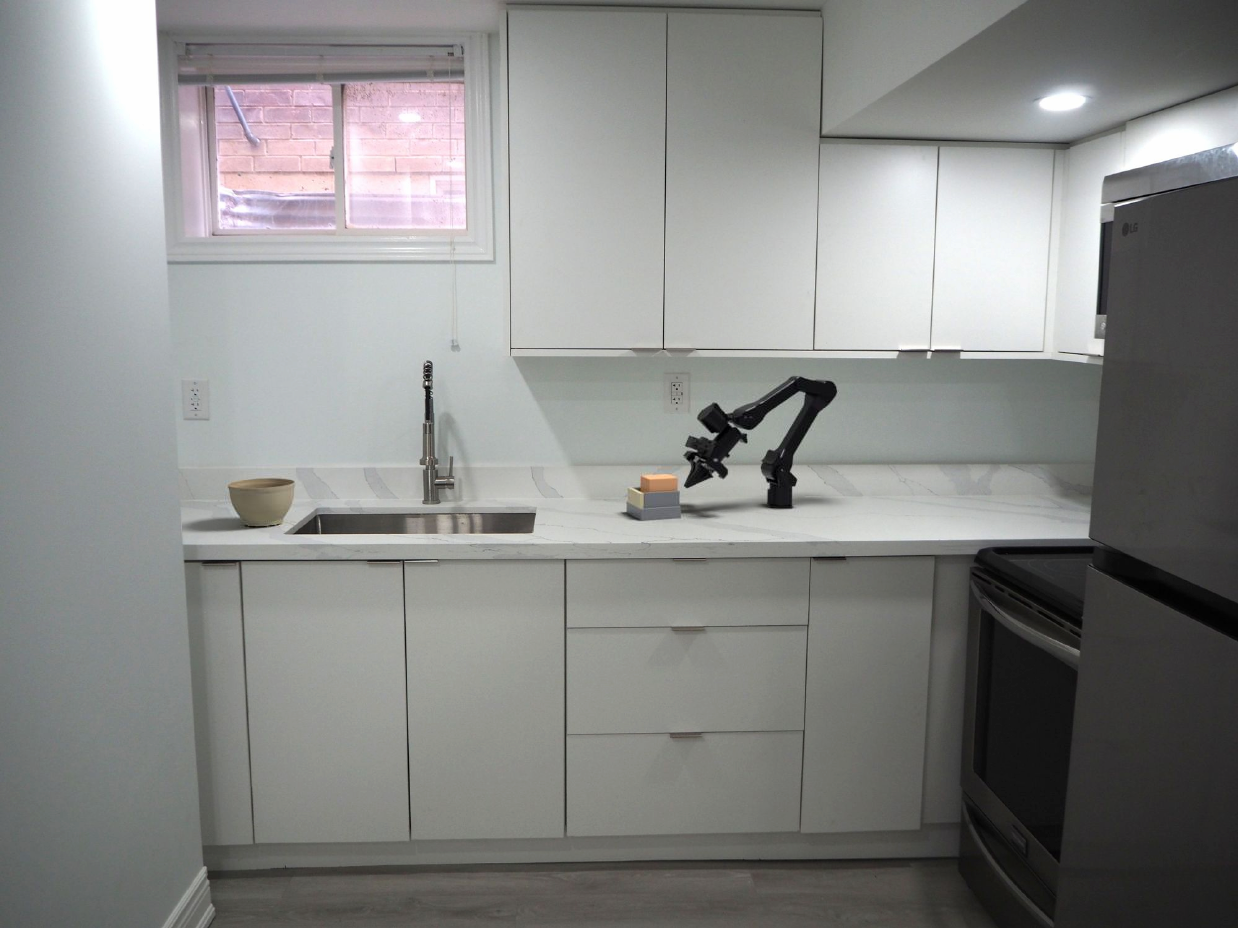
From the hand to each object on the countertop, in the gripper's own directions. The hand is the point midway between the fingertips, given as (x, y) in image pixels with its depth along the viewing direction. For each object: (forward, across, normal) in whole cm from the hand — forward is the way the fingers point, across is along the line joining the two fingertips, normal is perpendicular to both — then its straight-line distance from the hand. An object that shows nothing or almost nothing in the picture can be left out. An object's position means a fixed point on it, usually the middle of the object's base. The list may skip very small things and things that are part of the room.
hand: (685, 487), depth 254 cm
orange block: (+8, 0, -3) cm, 9 cm away
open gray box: (+11, 0, -1) cm, 11 cm away
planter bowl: (+81, -21, -73) cm, 111 cm away
